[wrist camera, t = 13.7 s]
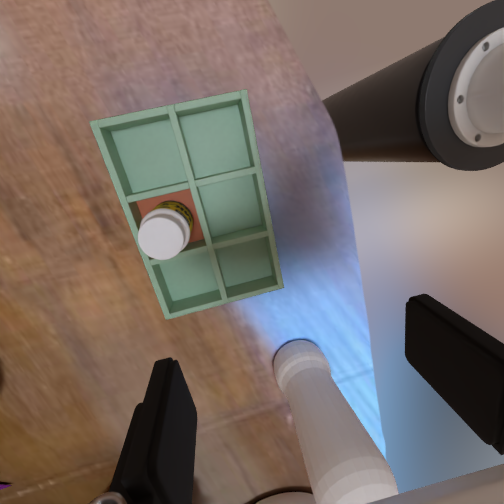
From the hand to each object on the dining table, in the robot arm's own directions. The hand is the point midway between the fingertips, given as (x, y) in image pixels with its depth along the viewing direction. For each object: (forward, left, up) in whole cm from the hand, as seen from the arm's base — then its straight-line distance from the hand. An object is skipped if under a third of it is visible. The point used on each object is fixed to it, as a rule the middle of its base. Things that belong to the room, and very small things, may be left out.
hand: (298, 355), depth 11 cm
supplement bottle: (+7, -2, -24) cm, 25 cm away
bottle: (-4, +24, -25) cm, 35 cm away
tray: (+4, -2, -25) cm, 25 cm away
